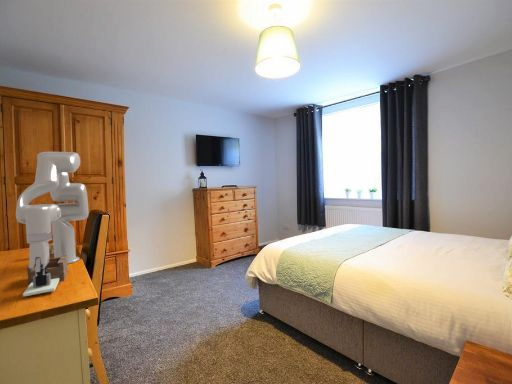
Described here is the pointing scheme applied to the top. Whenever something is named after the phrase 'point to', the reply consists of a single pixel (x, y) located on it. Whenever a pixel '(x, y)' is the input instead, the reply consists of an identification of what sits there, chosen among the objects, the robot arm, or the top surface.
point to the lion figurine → (51, 248)
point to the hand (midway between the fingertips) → (42, 283)
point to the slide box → (52, 269)
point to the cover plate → (35, 289)
